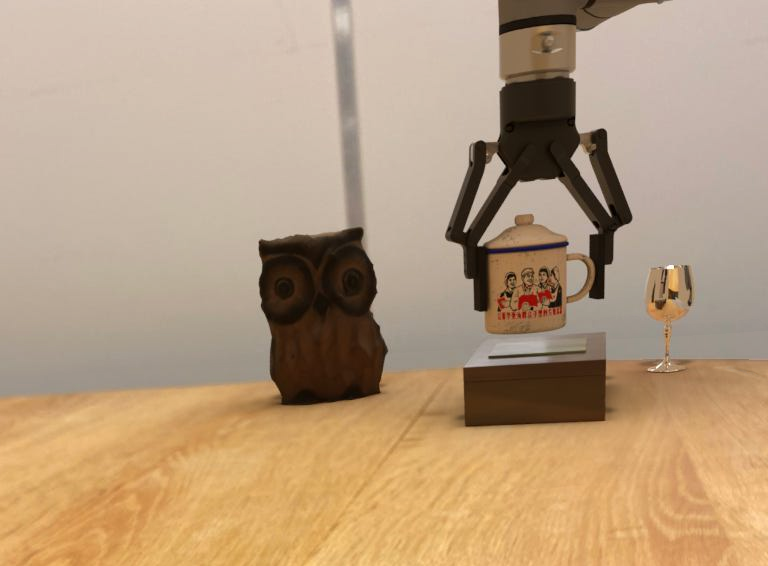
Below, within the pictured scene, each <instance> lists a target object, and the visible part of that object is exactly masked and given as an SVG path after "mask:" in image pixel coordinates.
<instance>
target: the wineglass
mask: <svg viewBox="0 0 768 566" xmlns="http://www.w3.org/2000/svg"><path fill="white" fill-rule="evenodd" d="M645 281H646V282H645V286H644V293H643V305H644V306H643V307H644V309H645V312H646V314H647V315H648V316H649V317H650V318H651V319H653V320H655V321H657V322H660V323H663V324H665V325H664V327H663V332H662V333H663V337H664V345H665V346H664V358H663V360H662V361H661V363H659V364H657V365H655V366H651V367H649V368H647V372H652V373H673V372H679V371H684V370H686V366H684V365H679V364H676V363H675V362H672V360H671V357H670V343H671V337H672V334H673V328H672V325H671V324H672V323H674V322H676V321H679V320H681V319H682V318H684V317H685V316H687V315H688V314H689V313H690V311H691V310H692V308H693V306H694V301H695V295H696V294H695V291H696V289H695V281H694V274H693V270H692V265H689V264H680V265H679V264H677V265H663V266H656V267H650V268H649V269H648V274H647V278H646V280H645Z"/></svg>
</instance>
